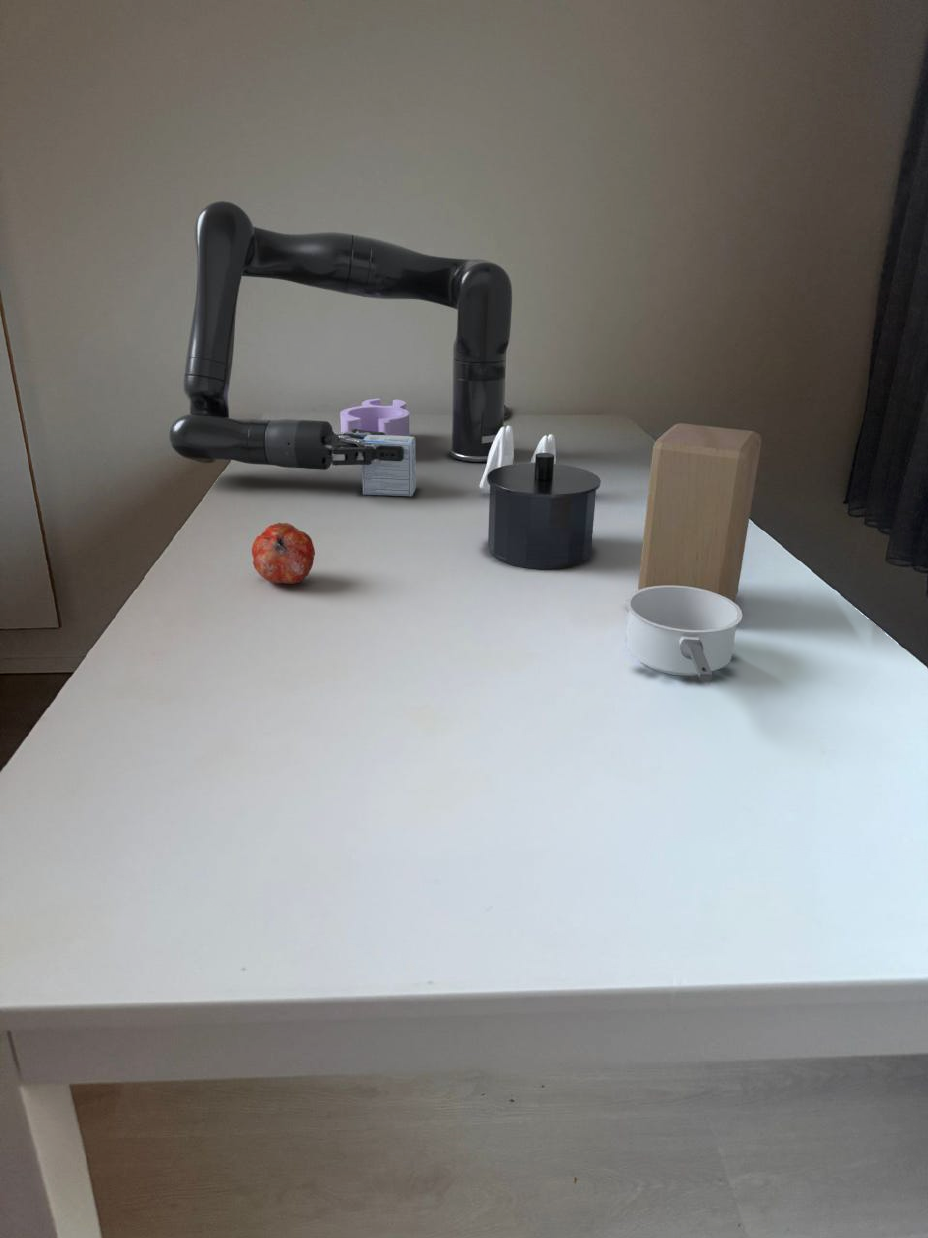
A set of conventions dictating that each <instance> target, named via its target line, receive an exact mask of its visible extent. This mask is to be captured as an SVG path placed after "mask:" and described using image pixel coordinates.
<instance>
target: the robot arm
mask: <svg viewBox="0 0 928 1238" xmlns="http://www.w3.org/2000/svg"><path fill="white" fill-rule="evenodd" d="M193 236H194V237H193V238H194V245H195V249H196V262H197V263H196V264H197V267H196V268H197V273H196V274H197V275H196V290H195V299H194V308H193V314H192V320H191V326H190V331H189V339H188V343H187V350H186V358H185V366H184V373H183V381H182V382H183V383H182V388H183V389H182V390H183V393H184V395H185V396H186V397H187V399H188V401H189V413H188V414H184V415H180V417H178V418H177V419H176V420H175V421H173V422H172V424H171V426H170V428H169V431H168V439H169V443H170V445H171V447H172V448H173V450H174V451H175V452H176V453H177V454H179V455H180V456H181V457H182V458H184V459H188V460H192V461H195V462H197V463H202V464H213V463H215V462H217V461H219V460H229V461H235V462H239V463H243V464H247V465H248V464H249V465H261V466H262V465H263V466H275V467H280V468H286V469H302V470H303V469H304V470H305V469H306V470H321V471H327V470H328V469H329V468H330V467H331V466H335V467H337V466H362V465H370V464H372V462H378V459H379V460H382V461H402V460H403V458H404V449H403V447H402V446H388V445H379V448H378V445H376V444H366V443H365V440H363V439H364V438H365V437H366V436H367V435H385V433H383V432H374V431H365V430H357V429H353V430H351V431H345V432H342V434H341V433H339V434H336V433H334V431H333V426H332V425H331V423H330V422H329V421H327V420H311V419H289V418H285V419H283V418H282V419H257V418H255V419H253V418H252V419H251V418H246V419H242V418H241V419H240V418H233V417H230V406H229V390H230V384H231V377H232V369H233V359H234V348H235V334H236V333H235V332H236V315H237V306H238V298H239V291H240V287H241V286H240V285H241V281H242V278H243V277H245V278H247V277H249V278H261V279H273V280H280V281H281V280H282V281H287V282H291V283H295V284H299V285H303V286H307V287H312V288H315V289H316V288H317V289H321V290H326V291H330V292H336V293H340V294H345V295H350V296H355V297H362V298H368V299H377V300H417V301H418V300H419V301H425V302H428V303H433V304H436V305H441V306H444V307H446V308H447V307H448V308H450V309H454V310H457V318H456V319H457V321H456V336H455V339H454V342H453V345H452V346H453V347H452V348H453V349H452V357H453V359H452V414H451V415H452V417H451V419H452V421H451V422H452V423H451V424H452V425H451V427H452V429H451V449H450V450H451V451H450V455H451V457H452V458H454V459H456V460H459V461H463V462H472V463H487V461H488V455H489V452H490V449H491V447H492V444H493V442H494V440H495V437H496V435H497V434H498V432H499V430H500V429H501V428H502V427H505V425H504V424H505V423H504V422H505V418H506V417H507V415H508V413H509V410H508V408H507V406H506V405H505V398H506V397H505V396H506V368H507V367H506V366H507V349H508V346H509V344H510V339H511V327H512V326H511V325H512V312H513V311H512V310H513V285H512V281H511V279H510V276H509V274H508V273H507V271H506V270H505V269H504V268H503V267H502V266H500V265H499V264H498V263H495V262H492V261H488V260H486V259H479V258H478V259H477V258H475V259H474V258H470V259H469V258H455V257H445V256H435V255H431V254H424V253H423V252H422V253H421V252H418V251H415V250H413V249H410V248H408V247H404V246H401V245H399V244H395V243H393V242H388V241H384V240H380V239H377V238H373V237H369V236H363V235H358V234H353V233H346V232H337V231H335V232H331V231H326V232H311V233H309V232H308V233H300V234H299V233H284V232H277V231H273V230H269V229H265V228H261V227H257V226H254V225H253V222H252V220H251V219H250V216H249V215H248V214H247V213H246V212H245V210H244V209H243V208H241V207H240V206H239V205H237V204H235V203H233V202H231V201H225V200H219V201H218V200H217V201H214V202H211V203H209V204H208V205H206V206H205V207H204V208H203V209H202V210H201V211H200V212H199V214H198V216H197V218H196V220H195V223H194V227H193Z"/></svg>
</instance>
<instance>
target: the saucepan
mask: <svg viewBox="0 0 928 1238" xmlns="http://www.w3.org/2000/svg"><path fill="white" fill-rule="evenodd" d="M625 606H626V608H627V610H628V615H627V625H626V635H625V648H626V650H627V651H626V652H628V653H629V654H630V656H632V657H633V658H634V659H636V660H637V661H639V662H641V663H642V664H643V665H644V666H646V667H648V668H650V669H652V670H654V671H657V672H660V673H663V674H669V675H671V676H680V677H681V676H682V677H692V676H698V678H699V680H700V681H701V682H702V683H709V682H711V681H713V679H714V675H713V672H714V671H717V670H720V669H722V668H724V667H726V666H727V665H728V664H729V663H730V661H731V659H732V657H733V650H734V644H735V638H736V633H737V626H738V624H739V623H740V622H741V620H742V618H743V613H742V612H743V611H742V609H741V608H740V606H739V605H738V604H737V603H735V602H734V601H731V600H729V599H728V598H726V597H724V596H721V595H719V594H717V593H714V592H710V591H707V590H703V589H699V588H693V587H686V586H666V585H665V586H653V587H647V588H644V589H640V590H638V589H637V590H636V591H633V592H632V593H631V594H629V595H628V596H627V598H626V599H625Z"/></svg>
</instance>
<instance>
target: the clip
mask: <svg viewBox="0 0 928 1238" xmlns="http://www.w3.org/2000/svg"><path fill="white" fill-rule="evenodd" d="M339 414H340V415H339V416H340V434H342V432H345V431H351V430H353V429H357V430H365V431H374V432H383V433H385V435H392V436H410V411H408V410H407V403H406V401H404V400H403V399H393V400H392V404H391V405H382V404H381V398H371V399H366V400H363V401H362V402H361V405H359V406H353V407H349V408H344V409H343V410H341V411H340V413H339Z"/></svg>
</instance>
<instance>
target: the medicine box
mask: <svg viewBox="0 0 928 1238" xmlns="http://www.w3.org/2000/svg"><path fill="white" fill-rule="evenodd" d="M363 440H365V443H366V444H376V445H378V448H379V445H388V446H402V447H403V449H404V458H403V460H402V461H382V460H379V459H378V462H372V464H370V465H361V474H362V477H361V478H362V494H363V495H369V496H393V497H394V496H395V497H413V495H414V493H415V491H416V489H417V472H416V471H417V469H416V466H417V463H416V459H417V458H416V437H415V436H411V435H409V436H392V435H367V436H366V437H365V438H364V439H363Z"/></svg>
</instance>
